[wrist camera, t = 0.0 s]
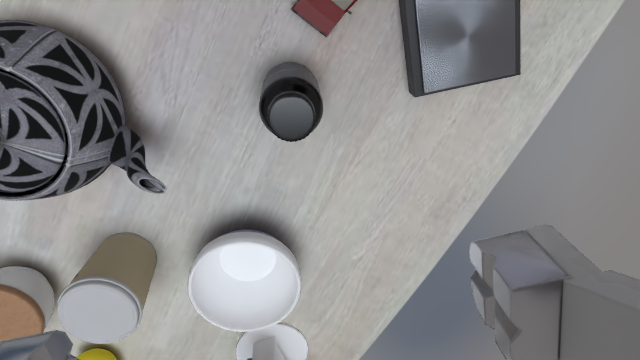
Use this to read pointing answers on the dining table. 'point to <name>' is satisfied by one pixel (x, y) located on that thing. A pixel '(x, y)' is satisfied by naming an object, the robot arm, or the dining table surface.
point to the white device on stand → (272, 344)
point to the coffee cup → (109, 290)
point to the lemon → (96, 355)
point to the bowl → (244, 281)
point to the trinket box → (24, 302)
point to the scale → (459, 42)
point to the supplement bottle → (290, 102)
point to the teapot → (60, 117)
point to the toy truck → (322, 12)
